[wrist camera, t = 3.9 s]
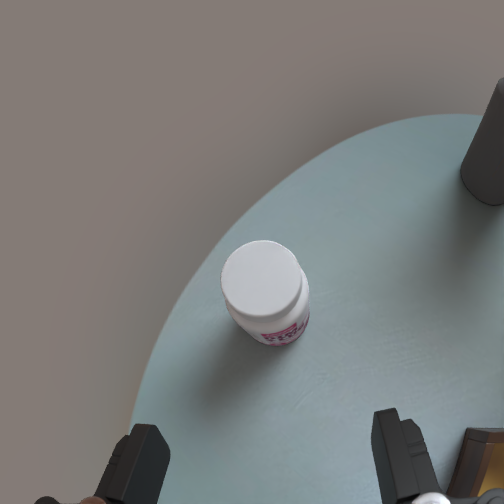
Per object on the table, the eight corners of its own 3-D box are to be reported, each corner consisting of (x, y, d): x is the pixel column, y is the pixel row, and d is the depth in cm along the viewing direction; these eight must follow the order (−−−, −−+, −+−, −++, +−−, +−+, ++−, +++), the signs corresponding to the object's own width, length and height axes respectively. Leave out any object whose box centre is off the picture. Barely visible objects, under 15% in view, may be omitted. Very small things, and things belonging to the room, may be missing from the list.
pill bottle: (278, 360, 22) (259, 346, 14) (231, 316, 24) (192, 281, 16) (323, 311, 23) (329, 271, 15) (275, 270, 25) (257, 215, 17)
